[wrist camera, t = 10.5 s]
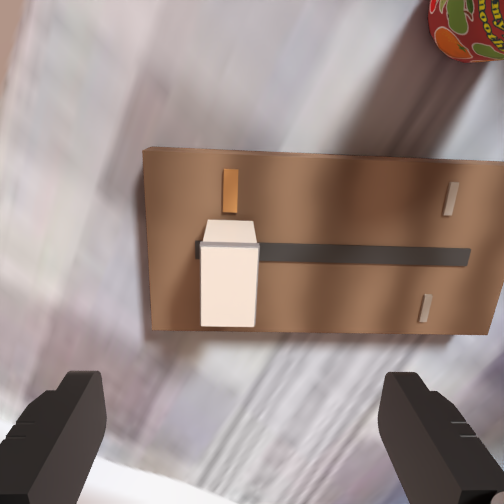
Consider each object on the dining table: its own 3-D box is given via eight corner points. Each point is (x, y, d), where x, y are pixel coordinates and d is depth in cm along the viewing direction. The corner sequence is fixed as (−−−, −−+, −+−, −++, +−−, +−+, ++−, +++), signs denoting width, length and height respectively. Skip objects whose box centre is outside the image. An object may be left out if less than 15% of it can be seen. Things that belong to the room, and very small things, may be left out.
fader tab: (254, 219, 27) (260, 248, 21) (251, 285, 29) (255, 328, 23) (206, 218, 27) (199, 246, 21) (206, 284, 28) (199, 327, 23)
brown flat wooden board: (509, 161, 30) (541, 167, 27) (466, 317, 35) (489, 337, 32) (151, 146, 28) (141, 151, 25) (158, 311, 33) (151, 332, 30)
